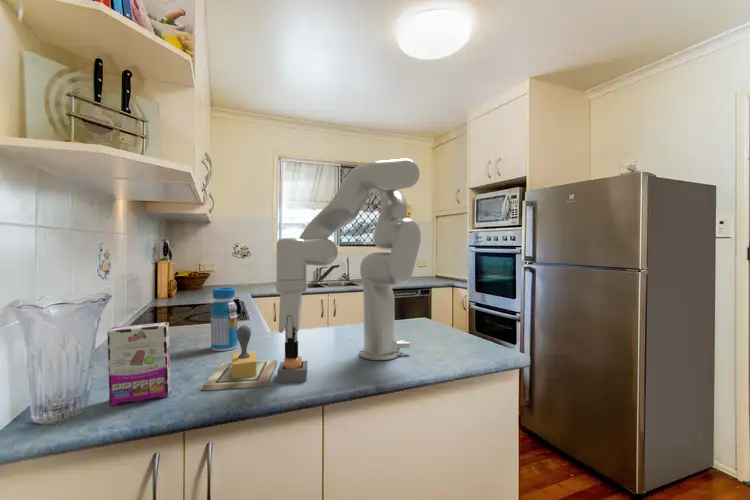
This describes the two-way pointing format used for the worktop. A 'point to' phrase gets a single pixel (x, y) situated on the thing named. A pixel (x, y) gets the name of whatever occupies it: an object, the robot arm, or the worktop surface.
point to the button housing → (292, 374)
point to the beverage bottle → (223, 320)
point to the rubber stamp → (244, 356)
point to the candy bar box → (138, 363)
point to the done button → (293, 363)
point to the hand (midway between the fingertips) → (291, 356)
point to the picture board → (225, 380)
